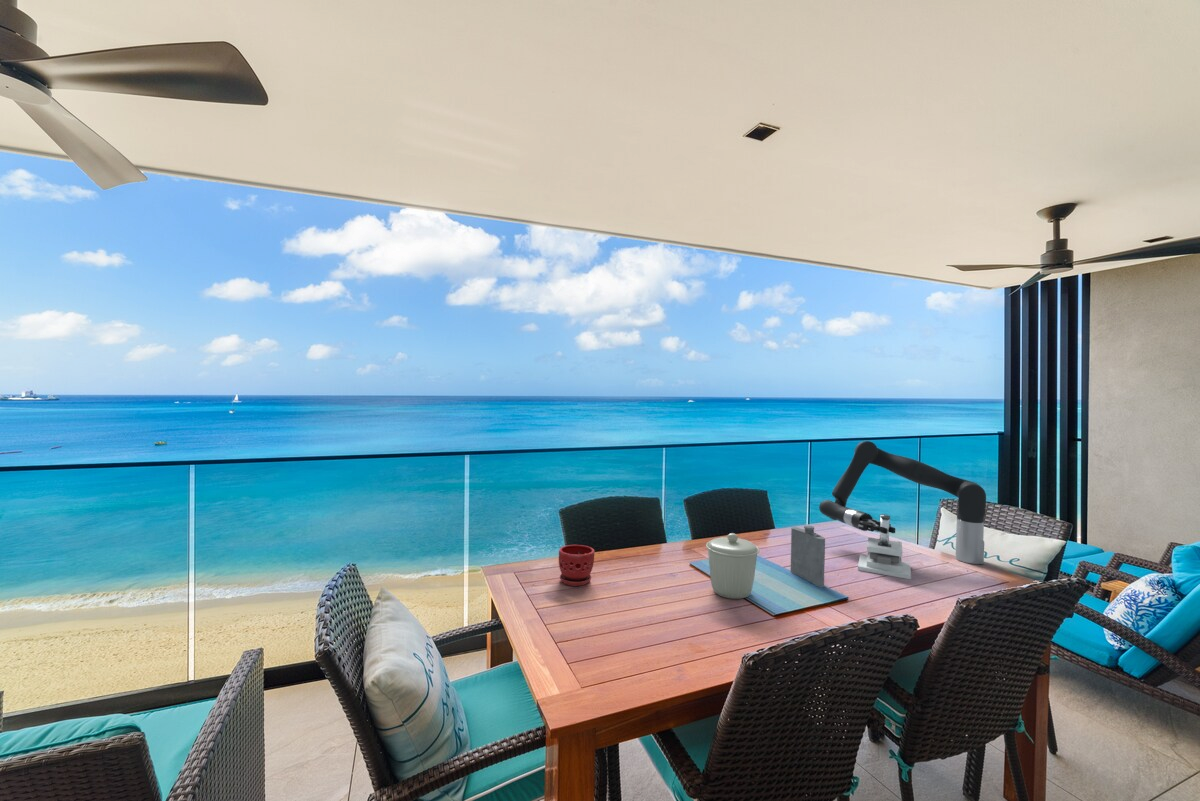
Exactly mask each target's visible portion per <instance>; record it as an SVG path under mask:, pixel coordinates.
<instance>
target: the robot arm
mask: <svg viewBox="0 0 1200 801" xmlns="http://www.w3.org/2000/svg"><path fill="white" fill-rule="evenodd" d="M869 465H873V466H877V467H880V468H883V469H886V470H887V471H890V472H891V473H893V474H895V475H897V476H900V477H902V478H904V479H906V480H909V481H910V482H914V483H916V484H919V485H922V486H925V487H930V488H934V489H937V490H941V491H944V492H946V493H948V494H950V495H953V496H954V497H956V498H958V504H957V506H958V507H957V512H956V532H955V535H956V536H955V537H956V538H955V559H956V560H957V561H959V562H963V563H965V564H974V565H984V563H985V541H984V536H985V535H984V533H985V532H984V531H985V530H984V529H985V517H986V510H987V509H986V508H987V493H986V491H985V489H984V488H983V487H982V486H981V485H980V484H979V483H977V482H974V481H971V480H967V479H963V478H960V477H957V476H953V475H951V474H948V473H946V472H944V471H942V470H940V469H938V468H936V467H933V466H931V465H929V464H927V463H924V462H921V461H919V460H916V459H914V458H911V457H907V456H902V455H899V454H898V455H897V454H893V453H890V452H888V451H885V450H883V449H881V448H878V447H877V445H876V444H875V443H874V442H872V441H869V440H864V441H863V440H862V441H861V442H858V444H857V445H856V446H855V448H854V454H853V456H852V459H851V461H850V463H849V465H848V466H847V468H846V470H845V471H844V473H843V474H842V476H841V477H840V478H839V479H838V481H837V483H836V484H835V486H834V488H833V490H832V491H831V496H833V497H834V501H832V500H829V499H825V500H822V501H821V502H820V503H819V504H818V505H819V506H818V508H819V511H820V513H821V514H822V515H823V516H826V517H828V518H829V519H831V520H833V521H839V522H841V523H843V524H846V525H848V526H850V527H852V528H854V529H857V530H860V531H863V532H867V531H869V532H879V533H880V532H881V533H884V534H887V533H888V529H887V528H884V527H881V526H880V520H877V519H876V518H873V516H872V515H871V514H870V513H867V512H864V511H862V510H858V509H853V508H851V507H848V506H847V502H848V499H849V498H850V497H851V494H852V492H853V491H854V489H855V487H856V486H857V484H858V482H859V479H860V478H861V476H862V475H863V473H864V471H865V470H866V469H867V467H868V466H869ZM846 506H847V507H846ZM889 533H891V534H896V528H895V527H894V526H891V523H890V524H889Z"/></svg>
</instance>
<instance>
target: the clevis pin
mask: <svg viewBox="0 0 1200 801" xmlns="http://www.w3.org/2000/svg"><path fill="white" fill-rule="evenodd" d="M879 519H880V520H879V521H880V526H881V527H884V528H887V529H888V533H887V534H884V533H881V532H879V539H880V545H881V546H889V540H890V532H889V524H891V523H890V522H891V520H890V519H891V515H888V514H883V513H882V514H879Z"/></svg>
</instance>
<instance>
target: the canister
mask: <svg viewBox="0 0 1200 801" xmlns="http://www.w3.org/2000/svg"><path fill="white" fill-rule="evenodd" d="M705 546H706V549H707V554H708V564H709V567H708V568H709V576H710V584H711V588H712V589H713V591H714V593H716V594H717V595H718V596H721V597H723V598H727V599H731V600H733V599H734V600H738V599H739V600H742V599H745V598H747V597H749V595H751V593H752V591H753V585H754V580H755V574H756V567H757V561H758V560H757V558H758V554H759V553H760V547H758V545H756V544H754V543H753V542H751V541H749V540H747V539H744V538H739V537H738V535H737V534H736V533H734V532H731V533H729V534H727V536H724V537H723V536H721V537H716V538H713V539H711V540H709V541H707V542H706V543H705Z"/></svg>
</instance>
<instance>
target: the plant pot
mask: <svg viewBox="0 0 1200 801" xmlns="http://www.w3.org/2000/svg"><path fill="white" fill-rule="evenodd" d="M594 563H595V549H594V548H592V547H591V546H588V545H582V544H569V545H563V546H561V547H560V548H559V549H558V566H559V569H560V572H561V574H560V575H559V579H560V581H561V582H562V583H563V584H565V585H568V586H574V587H575V586H576V587H578V586H584V585H587V584H588V583H589V582H590V581H591V580H592V575H591V573H592V571H593V568H594Z"/></svg>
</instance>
